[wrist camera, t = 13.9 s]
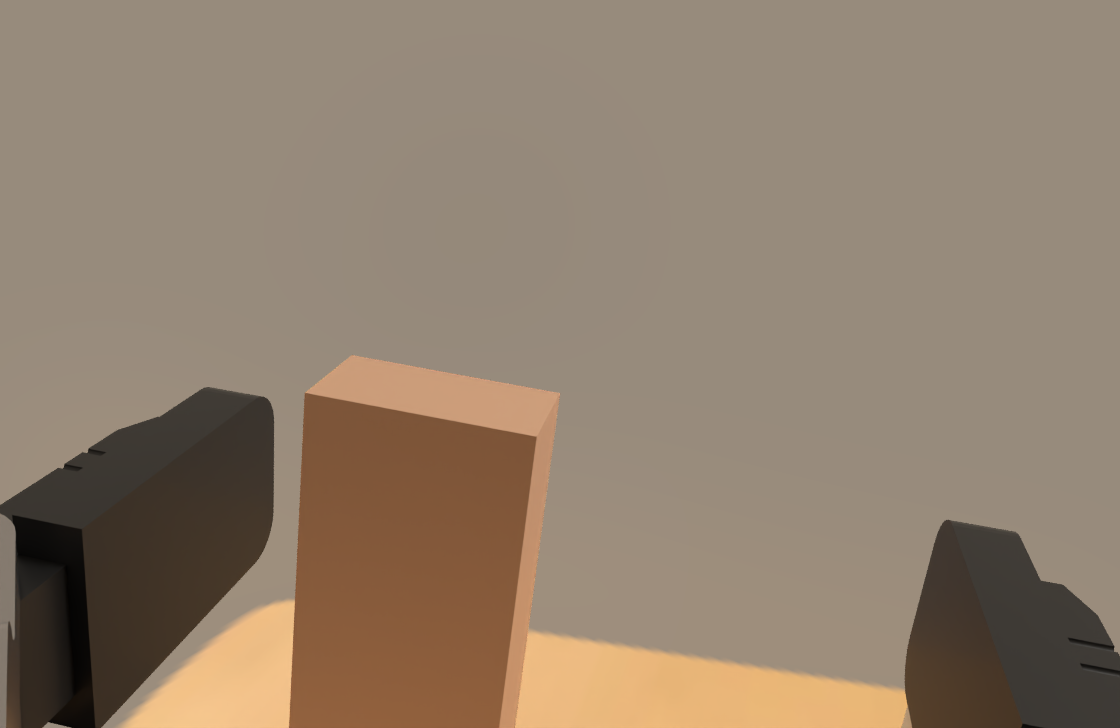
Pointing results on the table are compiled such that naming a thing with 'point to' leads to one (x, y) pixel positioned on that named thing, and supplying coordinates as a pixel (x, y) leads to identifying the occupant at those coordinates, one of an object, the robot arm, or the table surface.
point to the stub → (416, 547)
